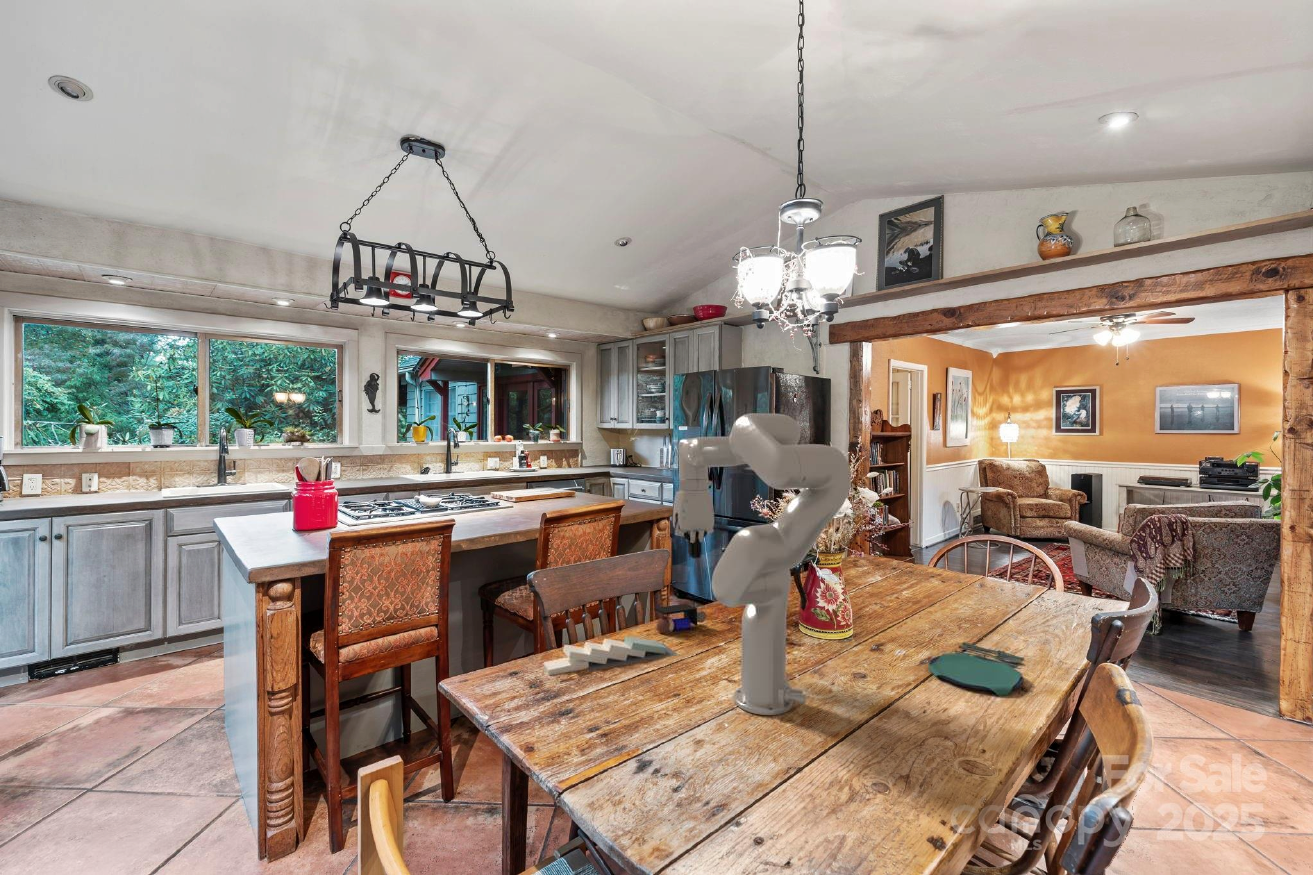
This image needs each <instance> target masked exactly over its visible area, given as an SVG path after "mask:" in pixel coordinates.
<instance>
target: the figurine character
mask: <svg viewBox="0 0 1313 875" xmlns="http://www.w3.org/2000/svg"><path fill="white" fill-rule="evenodd" d="M653 611H655V612H657V613H660V614H661V615H664V616H661V617H660V618H659V619H658V620H657V623H656V628H657V631H658V632H659V633H660V634H662V635H668V634H670V633H672V632H673V631H675V630H686V629H691V630H692V629H693V630H694V629H698V628H699V626H697V625H698V623H700V624H702V623H704V622H705V621H706V619H707V613H706V612H705V611H704V610H698V608H697V607H695V606H692V605H690V604H687V603H681V604H674V605H667V606H660V607H654V608H653ZM681 613H682V614H683V617H678V618H671V617H669V615H673V614H674V615H675V614H681ZM667 615H668V616H667ZM693 625H695V626H693Z"/></svg>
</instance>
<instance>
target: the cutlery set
mask: <svg viewBox="0 0 1313 875" xmlns="http://www.w3.org/2000/svg"><path fill="white" fill-rule="evenodd" d="M958 649H959V650H957V649H955V650H954V653H952V652H951V653H941V655H937V656H935V657H933V658H931V659H930V661H929V663H928V671H929V672H930V673H931V674H932V675H933V676H934V677H936V678H937V677H939V678H943V679H944V680H946V681H948V682H950V683H953V684H956V685H959V686H962V687H966V688H970V689H975V690H981V691H982V690H983V691H991V692H992V691H993V692H994V693H995V694H996V695H997V697H1005V696H1007V695H1008V694H1010V692H1011V691H1012V690H1014V689H1018V688H1019V687H1021V686H1023V683H1024V677H1023V674H1022V673H1021V672H1020V671H1018V670H1017V669H1015V668H1019V665H1017V664H1020V663H1022V661H1024V660H1025V657H1023V656H1022V657H1021V656H1018V655H1016V654H1012V653H1009V652H1006V651H1004V650H1000V649H998V650H996V649H990V648H985V647H982V646H978V645H975V644H973V643H968V642H966V641H963V642H962V645H960V644H959V645H958ZM960 650H965V651H970V652H974V653H979V654H972V653H970V652H969V653H968V652H963V651H960ZM987 652H988V653H987ZM990 653H995V654H996V655H994V654H990ZM983 655H984V656H983ZM986 656H990V657H991V658H989V657H986ZM993 658H995V659H993ZM997 659H998V660H997Z"/></svg>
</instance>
